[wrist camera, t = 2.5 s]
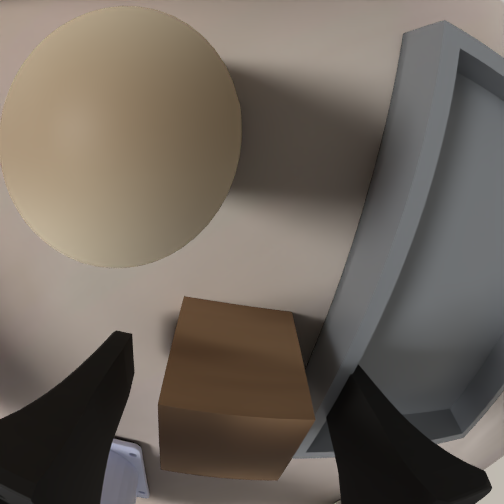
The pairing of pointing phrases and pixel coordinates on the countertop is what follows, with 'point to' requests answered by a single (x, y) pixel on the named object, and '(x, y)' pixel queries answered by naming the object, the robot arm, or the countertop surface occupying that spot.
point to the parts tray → (426, 249)
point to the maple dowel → (120, 137)
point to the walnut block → (233, 393)
